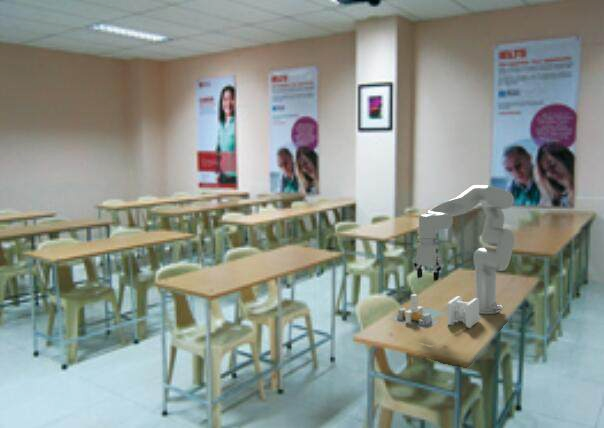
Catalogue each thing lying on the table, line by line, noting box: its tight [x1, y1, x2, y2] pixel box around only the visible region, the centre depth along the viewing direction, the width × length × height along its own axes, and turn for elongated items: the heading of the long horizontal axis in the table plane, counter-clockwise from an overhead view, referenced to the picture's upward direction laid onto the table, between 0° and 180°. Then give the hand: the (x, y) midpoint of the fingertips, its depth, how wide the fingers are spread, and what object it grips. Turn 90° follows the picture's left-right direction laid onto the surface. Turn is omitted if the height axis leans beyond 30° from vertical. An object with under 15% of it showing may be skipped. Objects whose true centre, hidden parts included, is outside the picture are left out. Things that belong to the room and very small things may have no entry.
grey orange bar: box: [397, 307, 431, 325], centre depth 243 cm, size 15×4×4 cm, turn 45°
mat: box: [407, 307, 447, 320], centre depth 255 cm, size 18×12×1 cm, turn 45°
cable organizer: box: [445, 295, 480, 329], centre depth 237 cm, size 15×11×12 cm
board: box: [389, 314, 441, 329], centre depth 243 cm, size 20×13×3 cm, turn 45°
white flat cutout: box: [405, 293, 424, 323], centre depth 243 cm, size 2×12×12 cm, turn 135°
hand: (427, 278), depth 235 cm, fingers open, 7 cm apart
